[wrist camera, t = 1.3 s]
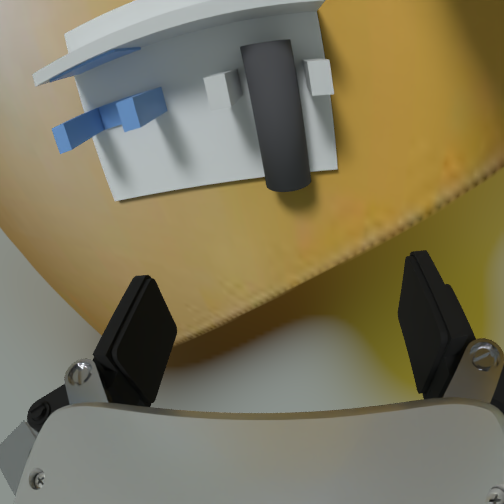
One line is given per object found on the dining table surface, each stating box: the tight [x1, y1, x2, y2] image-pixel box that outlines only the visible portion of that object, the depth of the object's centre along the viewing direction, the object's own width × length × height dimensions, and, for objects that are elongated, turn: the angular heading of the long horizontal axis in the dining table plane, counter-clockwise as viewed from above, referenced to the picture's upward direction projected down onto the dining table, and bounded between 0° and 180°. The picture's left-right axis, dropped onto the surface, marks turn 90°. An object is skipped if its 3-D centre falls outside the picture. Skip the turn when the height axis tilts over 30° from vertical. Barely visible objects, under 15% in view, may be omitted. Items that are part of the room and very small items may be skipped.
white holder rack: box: [32, 0, 338, 201], centre depth 19 cm, size 16×19×6 cm
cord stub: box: [240, 39, 311, 192], centre depth 20 cm, size 10×3×3 cm, turn 10°
